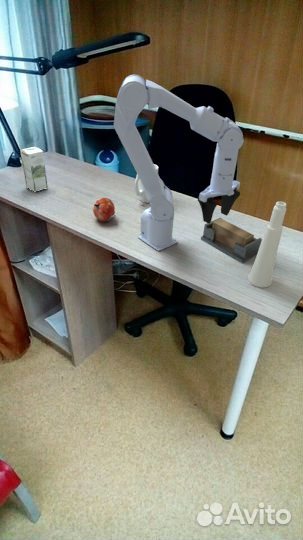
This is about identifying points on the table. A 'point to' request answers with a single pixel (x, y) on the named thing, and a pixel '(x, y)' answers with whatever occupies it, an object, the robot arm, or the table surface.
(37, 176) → the syrup box
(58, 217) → the table surface
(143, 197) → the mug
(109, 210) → the pomegranate
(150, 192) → the robot arm
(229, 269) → the table surface
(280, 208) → the cosmetic bottle
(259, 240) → the brackets
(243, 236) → the brown wooden block
